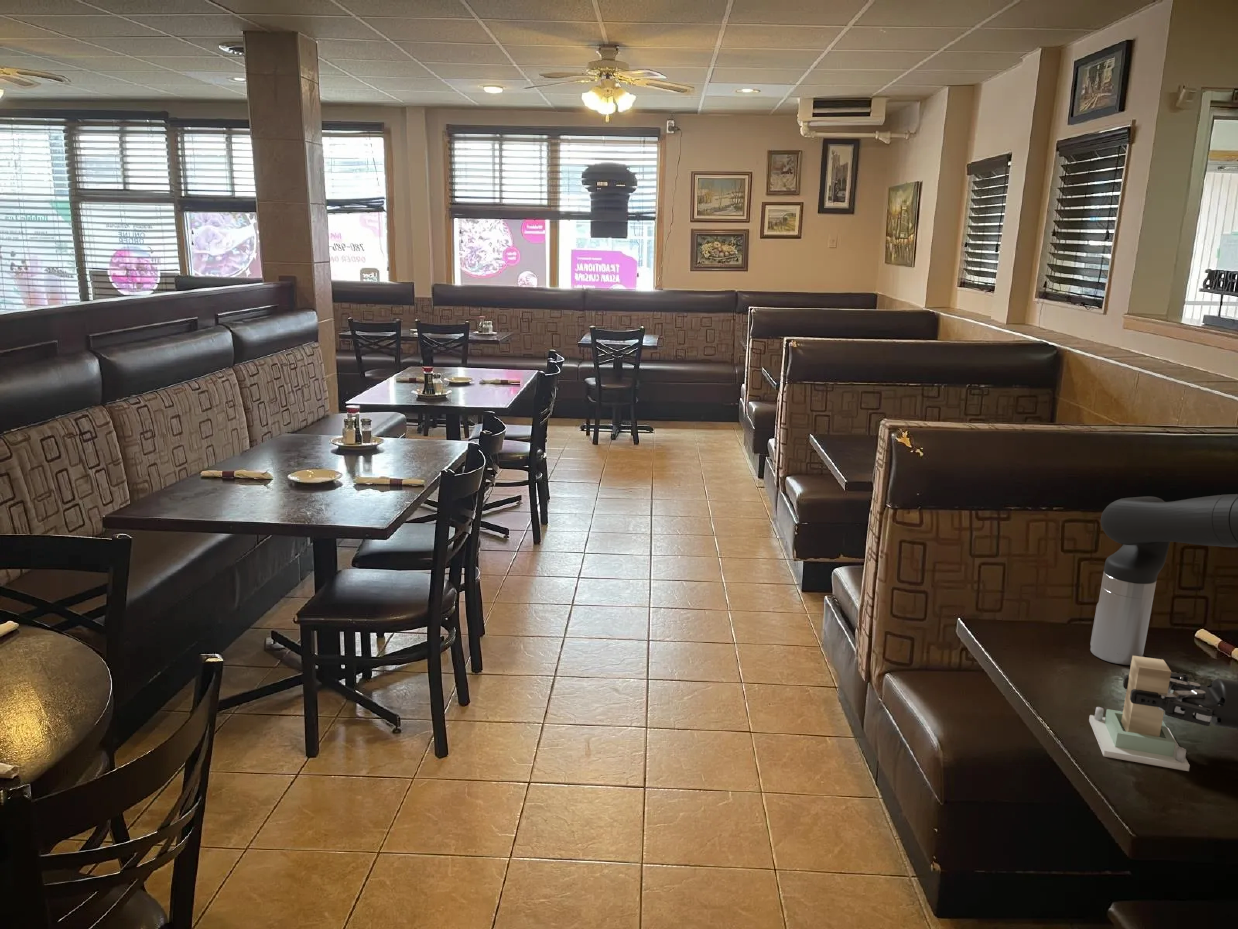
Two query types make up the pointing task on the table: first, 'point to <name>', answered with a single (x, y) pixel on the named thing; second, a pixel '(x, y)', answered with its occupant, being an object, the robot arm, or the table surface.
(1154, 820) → the table surface
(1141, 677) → the maple block
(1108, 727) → the socket plate
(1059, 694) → the table surface
